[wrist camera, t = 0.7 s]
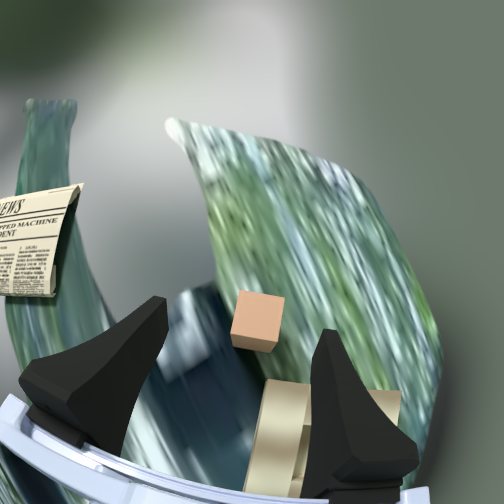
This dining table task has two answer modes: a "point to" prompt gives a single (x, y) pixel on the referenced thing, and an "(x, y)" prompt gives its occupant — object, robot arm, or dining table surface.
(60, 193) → the newspaper
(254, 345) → the peg
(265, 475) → the socket block
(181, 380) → the dining table surface
